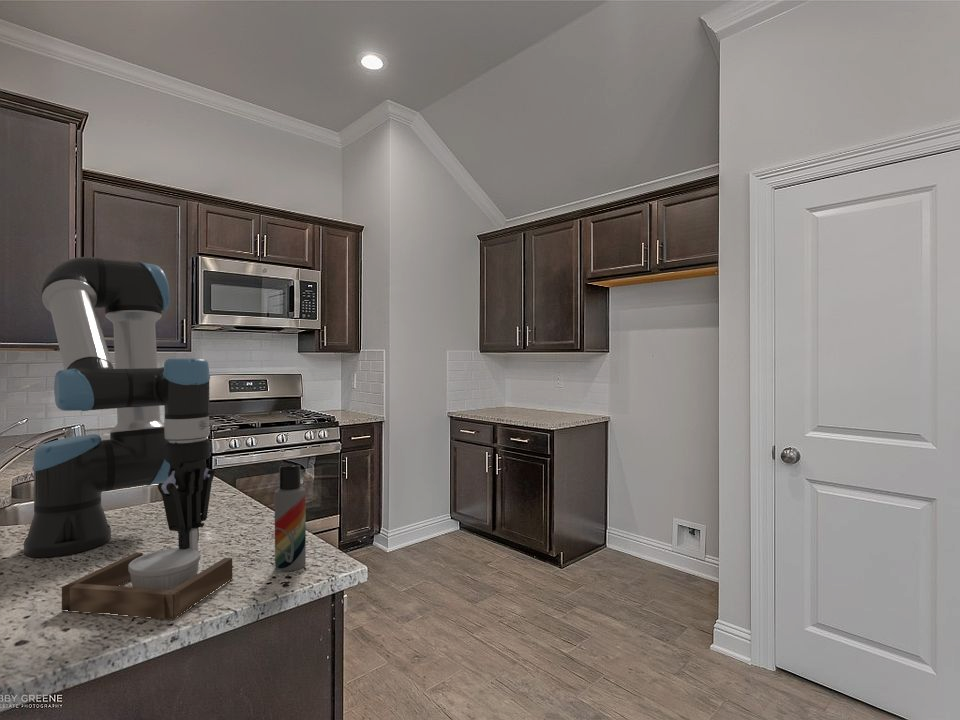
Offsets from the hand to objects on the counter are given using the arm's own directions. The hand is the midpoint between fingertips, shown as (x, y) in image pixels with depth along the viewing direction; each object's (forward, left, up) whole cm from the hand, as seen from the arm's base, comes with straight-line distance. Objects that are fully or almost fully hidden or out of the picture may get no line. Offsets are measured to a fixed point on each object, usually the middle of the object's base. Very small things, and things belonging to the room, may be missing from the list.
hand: (188, 563), depth 101 cm
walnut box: (0, -9, -2) cm, 9 cm away
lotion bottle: (+17, +6, -2) cm, 19 cm away
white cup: (-108, +98, -2) cm, 145 cm away
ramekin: (0, -6, -2) cm, 7 cm away
